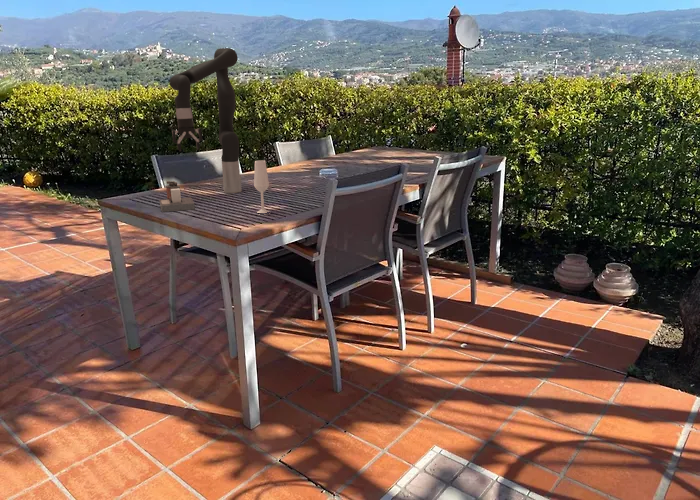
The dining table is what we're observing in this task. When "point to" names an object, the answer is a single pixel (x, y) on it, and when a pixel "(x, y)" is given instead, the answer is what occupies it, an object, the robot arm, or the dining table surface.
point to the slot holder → (177, 205)
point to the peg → (176, 195)
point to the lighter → (171, 186)
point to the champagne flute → (261, 181)
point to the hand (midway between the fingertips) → (189, 150)
